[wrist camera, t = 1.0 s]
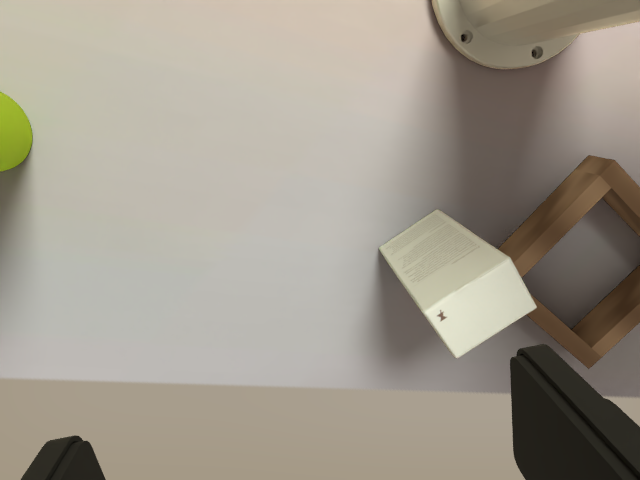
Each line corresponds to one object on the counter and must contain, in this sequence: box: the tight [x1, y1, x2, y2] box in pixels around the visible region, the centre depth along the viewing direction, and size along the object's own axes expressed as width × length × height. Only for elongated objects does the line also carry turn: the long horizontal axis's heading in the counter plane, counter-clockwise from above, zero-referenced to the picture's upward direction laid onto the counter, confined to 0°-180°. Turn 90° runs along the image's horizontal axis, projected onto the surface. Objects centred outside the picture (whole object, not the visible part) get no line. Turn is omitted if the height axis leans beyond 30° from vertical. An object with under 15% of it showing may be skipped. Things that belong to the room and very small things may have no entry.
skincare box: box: [379, 209, 537, 358], centre depth 32 cm, size 6×4×12 cm
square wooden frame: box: [498, 155, 640, 369], centre depth 38 cm, size 13×13×3 cm
